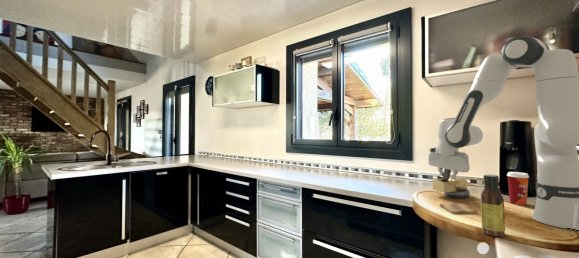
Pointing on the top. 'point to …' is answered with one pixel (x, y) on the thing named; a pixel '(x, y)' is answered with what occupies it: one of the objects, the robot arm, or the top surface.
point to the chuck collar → (450, 185)
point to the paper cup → (518, 187)
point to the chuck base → (458, 194)
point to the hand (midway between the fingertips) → (447, 177)
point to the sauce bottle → (492, 207)
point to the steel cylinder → (446, 175)
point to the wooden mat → (458, 209)
